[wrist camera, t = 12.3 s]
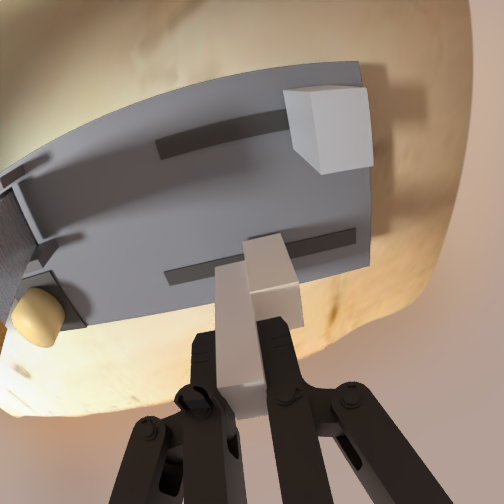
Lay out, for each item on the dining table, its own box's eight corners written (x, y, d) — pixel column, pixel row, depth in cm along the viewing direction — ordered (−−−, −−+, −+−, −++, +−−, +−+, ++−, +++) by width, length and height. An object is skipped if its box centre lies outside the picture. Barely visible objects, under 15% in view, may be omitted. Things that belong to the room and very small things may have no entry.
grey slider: (293, 148, 13) (321, 174, 9) (282, 90, 11) (309, 92, 8) (333, 142, 12) (373, 166, 9) (325, 85, 11) (366, 87, 8)
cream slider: (252, 282, 16) (262, 336, 13) (242, 241, 15) (249, 292, 12) (287, 275, 16) (304, 326, 13) (280, 232, 15) (298, 281, 11)
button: (42, 327, 17) (32, 348, 15) (16, 291, 15) (3, 312, 13) (73, 322, 17) (64, 346, 15) (46, 283, 15) (33, 305, 13)
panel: (55, 306, 20) (33, 352, 16) (-11, 182, 14) (-54, 214, 9) (352, 241, 20) (384, 287, 15) (335, 63, 13) (381, 59, 9)
